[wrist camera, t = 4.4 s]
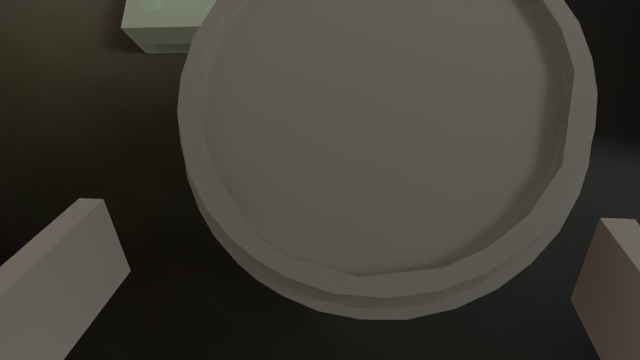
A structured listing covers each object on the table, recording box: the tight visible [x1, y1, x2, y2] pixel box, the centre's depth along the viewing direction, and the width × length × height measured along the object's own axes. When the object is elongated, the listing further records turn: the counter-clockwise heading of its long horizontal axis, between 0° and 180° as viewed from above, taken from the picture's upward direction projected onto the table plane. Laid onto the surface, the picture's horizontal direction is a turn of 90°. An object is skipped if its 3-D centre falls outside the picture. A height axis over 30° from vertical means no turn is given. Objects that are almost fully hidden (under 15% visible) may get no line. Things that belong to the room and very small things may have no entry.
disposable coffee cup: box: [177, 0, 597, 320], centre depth 14 cm, size 10×10×12 cm
